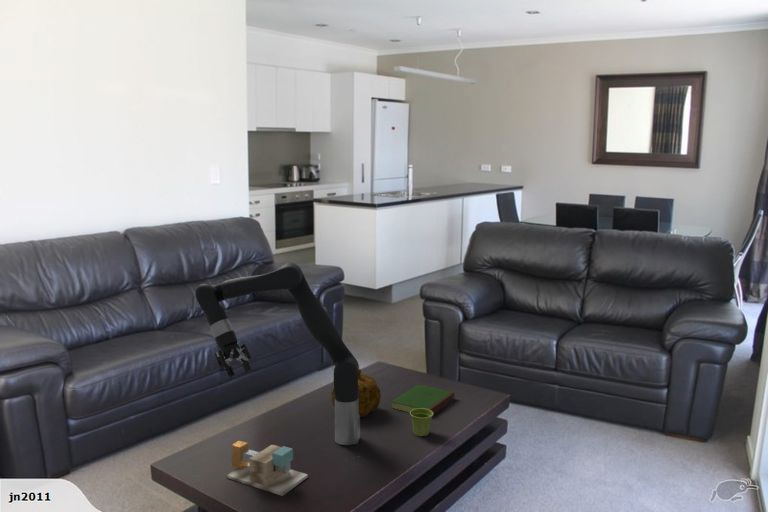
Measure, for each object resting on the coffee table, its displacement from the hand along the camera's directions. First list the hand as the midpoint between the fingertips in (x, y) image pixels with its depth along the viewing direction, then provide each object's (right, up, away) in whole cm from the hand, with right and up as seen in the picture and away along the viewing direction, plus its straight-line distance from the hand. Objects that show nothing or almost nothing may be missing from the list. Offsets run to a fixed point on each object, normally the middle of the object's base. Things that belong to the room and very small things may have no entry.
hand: (240, 374), depth 233 cm
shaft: (+10, -32, -12) cm, 35 cm away
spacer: (+18, -26, -18) cm, 37 cm away
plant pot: (+67, -28, +22) cm, 76 cm away
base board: (+13, -33, -13) cm, 38 cm away
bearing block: (+13, -33, -13) cm, 38 cm away
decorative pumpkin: (+40, -25, +42) cm, 63 cm away
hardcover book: (+70, -24, +53) cm, 91 cm away
